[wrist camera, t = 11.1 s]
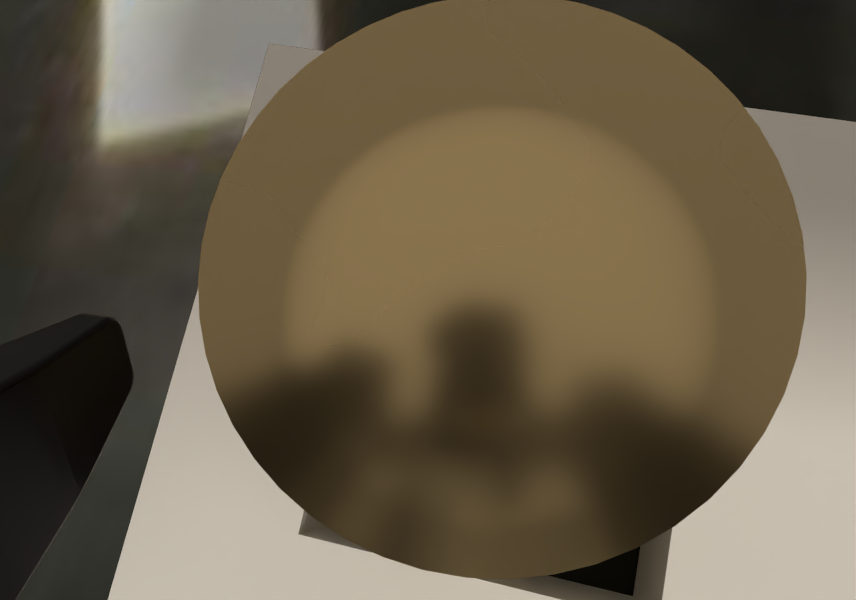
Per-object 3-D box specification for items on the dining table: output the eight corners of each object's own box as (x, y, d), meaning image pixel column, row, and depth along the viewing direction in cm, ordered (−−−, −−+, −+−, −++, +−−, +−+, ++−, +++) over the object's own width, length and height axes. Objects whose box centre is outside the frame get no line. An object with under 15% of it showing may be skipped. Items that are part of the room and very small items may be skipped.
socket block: (844, 185, 18) (909, 129, 15) (779, 815, 15) (843, 899, 12) (304, 106, 20) (269, 43, 17) (159, 639, 17) (85, 675, 14)
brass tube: (603, 347, 17) (837, 30, 5) (575, 516, 17) (766, 656, 4) (442, 316, 18) (281, -35, 6) (407, 477, 17) (125, 496, 5)
